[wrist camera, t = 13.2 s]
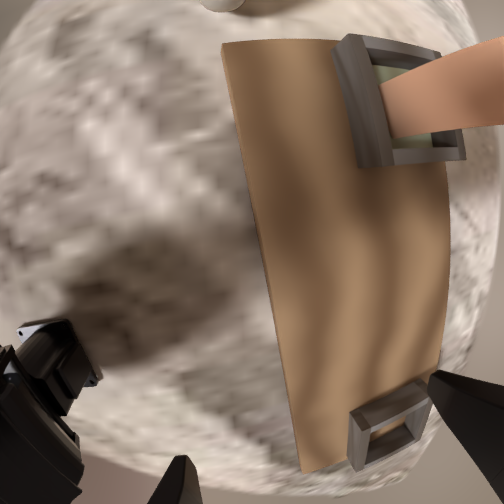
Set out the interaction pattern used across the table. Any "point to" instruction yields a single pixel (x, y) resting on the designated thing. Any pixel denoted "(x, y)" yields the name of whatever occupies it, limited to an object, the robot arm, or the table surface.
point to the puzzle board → (346, 238)
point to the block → (448, 92)
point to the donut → (221, 5)
